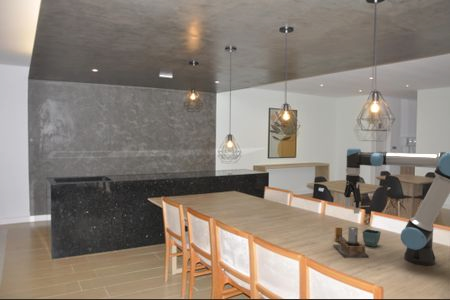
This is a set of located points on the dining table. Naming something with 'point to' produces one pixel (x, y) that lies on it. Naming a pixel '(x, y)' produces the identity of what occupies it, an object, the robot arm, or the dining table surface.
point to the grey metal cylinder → (352, 236)
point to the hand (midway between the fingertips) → (351, 210)
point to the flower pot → (371, 237)
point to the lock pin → (338, 234)
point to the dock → (351, 250)
